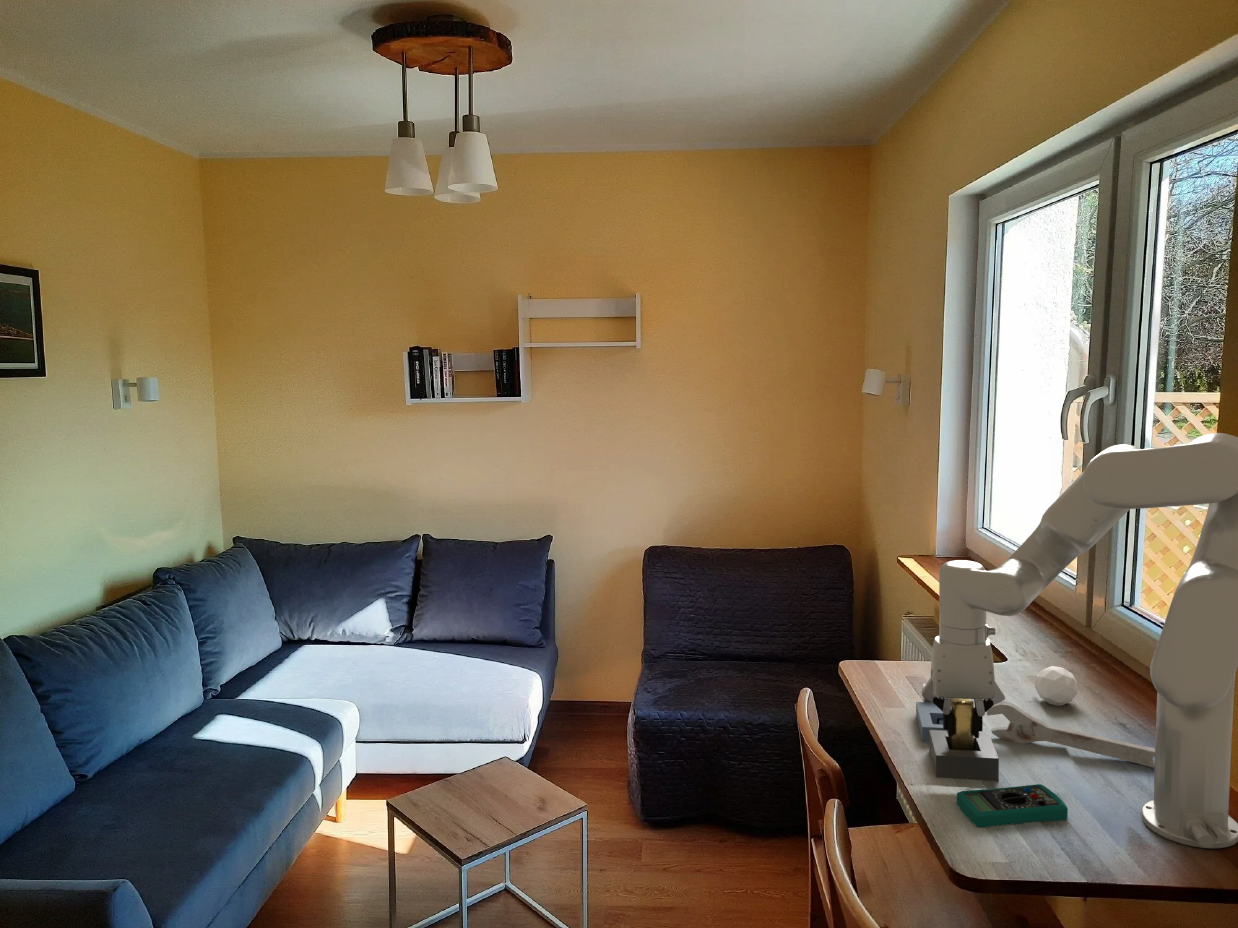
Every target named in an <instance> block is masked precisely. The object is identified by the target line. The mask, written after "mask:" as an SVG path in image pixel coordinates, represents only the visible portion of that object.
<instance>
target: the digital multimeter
mask: <svg viewBox="0 0 1238 928" xmlns="http://www.w3.org/2000/svg"><path fill="white" fill-rule="evenodd" d="M956 804H957V806H958V808H959V809H960V811H961V812H962V814H964V815H965V817H966V818H967V819H968V820H969V821H971V823H972V824H974V826H976V827H977V828H980V829H981V828H990V827H1000V826H1007V825H1016V824H1017V825H1018V824H1025V823H1028V824H1029V823H1043V822H1053V821H1054V822H1055V821H1066V820H1068V812H1069V811H1068V810H1069V808H1068V807H1067V805H1066V803H1065V801H1064V800H1062V798H1061V797H1060V796H1058V794H1056V793H1055V792H1053V791H1052V790H1050V789H1049V788H1048V787H1046V786H1045V785H1044V784H1041V783H1038V784H1029V785H1028V784H1027V785H1019V786H1018V785H1017V786H1009V787H998V788H989V789H988V788H985V789H971V790H961V791H959V792H956Z"/></svg>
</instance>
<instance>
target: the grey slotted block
mask: <svg viewBox="0 0 1238 928" xmlns="http://www.w3.org/2000/svg"><path fill="white" fill-rule="evenodd" d="M929 754H930V758H931V762H932V766H933V770H934V774H935V778H939V779H954V780H955V779H956V780H969V781H970V780H973V781H989V782H999V781H1000V777H999V776H1000V773H999V772H1000V771H999V769H1000V765H999V764H1000V761H999V760H1000V759H999V756H998V753H997V750H996V748H995V746H994V744H993V741H992V739H991V736H990V734H989V732H983V731H982V732H981V731H979V738H975V737H974V751H967V750H952V737H949V736H948V732H947V731H942V730H929Z"/></svg>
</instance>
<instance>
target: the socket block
mask: <svg viewBox="0 0 1238 928" xmlns="http://www.w3.org/2000/svg"><path fill="white" fill-rule="evenodd" d="M951 711H952V703H951ZM915 717H916V721H917V726H918V731H919V733H920V737H921V742H922V743H927V744H928V743H929V730H942V731H947V730H944V729H943V725H939V724H938V721H937V718H943V712H942V711H941V710H940V709H939V708H938V707H937V706H936V705H935V704H934V703H930V702H923V701H916V702H915Z"/></svg>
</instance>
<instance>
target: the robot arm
mask: <svg viewBox="0 0 1238 928" xmlns="http://www.w3.org/2000/svg"><path fill="white" fill-rule="evenodd" d="M1197 505H1208V507H1207V511H1206V514H1205V518H1204V522H1203V525H1202V528H1201V531H1200V534H1199V538H1198V541H1197V545H1196V547H1195V549H1194V553H1193V555H1192V558H1191V560H1190V563H1189V565H1188V567H1187V569H1186V570H1185V572H1184V574H1183V575H1182V577H1181V579H1180V580H1179V582H1178V584H1177V587H1176V589H1175V591H1174V593H1173V597H1172V600H1171V603H1170V605H1169V607H1168V611H1167V614H1166V618H1165V621H1164V623H1163V627H1162V628H1161V632H1160V634H1159V635H1160V636H1159V639H1158V641H1157V644H1156V648H1155V650H1154V653H1153V656H1152V659H1151V663H1150V666H1149V667H1150V668H1149V669H1150V670H1149V672H1150V673H1149V675H1150V678H1151V682H1152V684H1153V687H1154V689H1155V690H1156V692H1157V693H1156V694H1157V695H1156V712H1155V713H1156V714H1155V738H1154V739H1155V744H1154V745H1155V746H1154V748H1155V756H1154V762H1155V767H1154V780H1153V781H1154V782H1153V789H1154V790H1153V800H1150V801H1148V802H1146V803H1144V804H1143V806H1142V808H1141V819H1142V821H1143V823H1144V824H1145V825H1146V827H1148V828H1149V829H1150V830H1152V831H1153V832H1154V833H1156V834H1157V835H1159V836H1161V837H1163V838H1165V839H1167V840H1171V841H1173V842H1175V843H1180V844H1182V845H1185V846H1189V847H1194V848H1201V849H1223V848H1229V847H1231V846H1234V845H1236V844H1237V843H1238V822H1237V821H1236V820H1235V819H1233V818H1232V817H1231V816H1230V815H1229V811H1230V809H1229V807H1230V785H1231V784H1230V779H1231V756H1232V755H1231V754H1232V753H1231V752H1232V737H1233V717H1234V716H1233V715H1234V701H1235V700H1234V699H1235V698H1234V696H1235V686H1236V685H1235V683H1236V682H1235V681H1236V672H1237V669H1238V436H1235V435H1232V434H1228V433H1223V432H1214V433H1213V432H1212V433H1208V434H1204V435H1201V436H1199V437H1197V438H1194V439H1193V440H1192V441H1191V442H1190V443H1187V444H1178V445H1177V444H1176V445H1170V446H1163V447H1155V448H1154V447H1152V448H1143V449H1141V448H1139V447H1138V446H1134V445H1133V444H1132V445H1130V444H1117V445H1112V446H1109V447H1107V448H1105V449H1104V450H1102V451H1101V452H1100V453H1098V454H1097V455H1096V456H1093V458H1092V459H1091V460H1090V461H1089V463H1087V465H1086V467H1085V469H1084V470H1083V472H1081V473H1080V475H1078V477H1077V478H1076V479H1075V480H1074V481H1073V482H1072V483H1071V484H1070V485H1068V487H1067V488H1066V489H1065V491H1064V492H1062V494H1061V495H1059V497H1057V498H1056V499H1055V501H1053V503H1052V504H1051V505H1050V506H1049V507H1048V508H1047V509H1046V510H1045V511H1044V513H1043V514H1042V516H1041V519H1040V522H1039V524H1038V525H1037V526H1036V528H1035V530H1033V531H1032V532H1031V534H1030V535H1028V537H1027V538H1026V539H1025V540H1024V541H1023V543H1022V544H1020V546H1019V547H1017V549H1016V550H1015V551H1014V552H1013V553H1012V554H1011V555H1010V556H1009V557H1008V558H1007V559H1006V560H1005V561H1003V563H1001V564H1000V565H999V566H998V567H996V568H994V569H991V570H986V568H985V567H984V566H983V564H981V563H979V562H977V561H972V560H966V559H964V560H963V559H956V560H949V561H946V562H944V563H943V564H941V566H940V567H939V572H938V573H939V574H938V578H939V579H938V583H939V585H938V588H939V590H938V592H939V599H938V600H939V602H938V603H939V605H938V606H939V609H938V610H939V611H938V612H939V614H938V616H939V621H938V626H939V635H937V636H935V637H934V640H933V644H932V650H931V659H930V661H931V662H930V678H929V679H928V681H927V682H926V683H925V684H926V685H925V687H924V688H923V687H922V689H921V691H920V693H921V697H922V698H923V697H924V698H926V699H927V700H929V701H931V702H933V703H934V704H935V705H936V706H937V707H938V708H939V709H940V710H941V711H942V712H943V729H944V730H947V732H948V736H949V737H952V736H953V714H952V711H951V703H952V698H959V699H970V700H973V702H974V737H975V738H979V732H983V730H984V729H983V724H984V723H983V719H984V718H983V717H984V716H985V715H986V713H987V711H988V710H989V709H990V708H991V707H993V705H995V704H997V703H999V702H1001V701H1003V702H1004V701H1005V700H1006V697H1005V695H1004V693H1003V690H1001V688H1000V686H999V685H998V684H997V682H996V679H995V677H996V676H995V666H994V665H995V664H994V657H993V650H992V646H991V641H990V639H989V636H995V635H996V627H995V626H990V625H988V624H987V613H991V614H993V615H994V614H995V615H998V616H1002V617H1013V616H1017V615H1019V614H1021V613H1022V612H1024V611H1025V610H1026V608H1028V607H1029V605H1031V604H1032V602H1033V601H1034V600H1035V599H1036V598H1037V597H1038V596H1039V595H1041V593H1042V592H1043V591H1044V590H1045V589H1046V588H1047V587H1048V586H1049V585H1050V584H1051V583H1052V582H1053V581H1054V580H1055V579H1056V578H1057V577H1058V576H1059V575H1060V574H1061V573H1062V572H1063V571H1064V570H1065V569H1066V568H1067V567H1068V566H1069V565H1070V564H1071V563H1072V562H1073V561H1075V559H1076V558H1077V557H1079V556H1080V555H1082V554H1084V553H1087V552H1088V551H1090V550H1091V548H1093V547H1094V545H1096V544H1097V543H1098V542H1099V541H1100V540H1101V539H1102V538H1103V537H1104V536H1105V535H1106V534H1107V533H1108V532H1109V531H1110V529H1112V527H1114V526H1115V524H1117V523H1118V522H1120V521H1119V520H1121V519H1122V518H1123V517H1124V516H1125V515H1126V513H1128V512H1129V511H1130V510H1135V509H1138V510H1140V509H1141V510H1142V509H1156V508H1168V507H1169V508H1171V507H1181V506H1197ZM932 691H934V693H932ZM940 697H942V699H941V698H940Z"/></svg>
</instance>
